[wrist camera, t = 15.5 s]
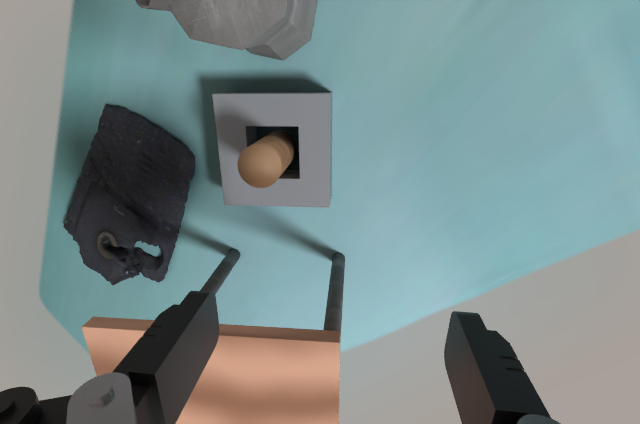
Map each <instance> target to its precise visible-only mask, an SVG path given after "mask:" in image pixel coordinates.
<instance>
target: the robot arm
mask: <svg viewBox="0 0 640 424" xmlns="http://www.w3.org/2000/svg"><path fill="white" fill-rule="evenodd" d="M218 338H219V321H218V313H217V305H216V297H215V294H214V293H213V292H201V291H191V292H189V293H188V295H187V296H186V297H185V299H184V300H183V301H182V302H181V304H180V305H175V304H174V305H172V306H171V307H169V308H168V309H166V310H165V311H164V312H162V313H161V314H160V315H159V316H158V317H157V318H156V319H155V321H154V322H153V323H152V324H151V327H149V328H148V329H147V330H146V332H145V333H144V334H143V337H141V338H140V339H139V340H138V341H137V342H136V344H135V345H134V346H133V347H132V349H131V350H130V351H129V352H128V353H127V355H126V356H125V357H124V358H123V359H122V361H121V362H120V363H119V364H118V366H117V367H116V368H115V369H114V370H113V372H112V373H106V374H102V375H99V376H97V377H95V378H93V379H91V380H89V381H87V382H86V383H84V384H83V385H82V386H80V388H79V389H77V390H76V391H75V392H74V394H73V395H70V396H64V397H59V398H53V399H48V400H42V401H39V400H38V398H37V395H36V393H35V392H34V390H33V389H31V388H28V387H16V388H11V389H7V390H5V391H2V392H0V424H176V422H177V420H178V418H179V416H180V414H181V412H182V410H183V408H184V406H185V405H186V403H187V401H188V399H189V397H190V395H191V393H192V391H193V389H194V387H195V385H196V383H197V382H198V380H199V378H200V376H201V374H202V372H203V370H204V368H205V366H206V364H207V362H208V361H209V359H210V357H211V355H212V353H213V351H214V349H215V347H216V345H217V342H218ZM444 354H445V355H444V358H445V366H446V370H447V374H448V377H449V381H450V384H451V387H452V391H453V394H454V398H455V401H456V405H457V408H458V411H459V415H460V418H461V421H462V424H560V423H559V422H557V421H555V420H553V419H551V417H550V415H549V413H548V412H547V410H546V408H545V406H544V405H543V403H542V401H541V399H540V397H539V395H538V394H537V392H536V390H535V389H534V386H533V385H532V383H531V381H530V379H529V377H528V376H527V374H526V372H524V368H523V367H522V365H521V363H520V361H519V360H518V359H517V356H516V354H515V352H514V351H513V349H512V347H511V345H510V343H509V342H508V341H506V340H505V339H504V338H503V337H502V336H501V335H500V334H499V333H498V332H497V331H490V330H487V329H486V327H485V325H484V323H483V321H482V319H481V317H480V315H479V314H477V313H469V312H455V311H454V312H452V314H451V319H450V323H449V329H448V334H447V339H446V344H445V351H444Z"/></svg>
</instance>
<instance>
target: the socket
mask: <svg viewBox="0 0 640 424" xmlns="http://www.w3.org/2000/svg"><path fill="white" fill-rule="evenodd" d="M212 97H213V106H214V115H215V124H216V133H217V142H218V151H219V160H220V169H221V178H222V187H223V196H224V205H253V206H292V207H329V206H330V201H331V196H332V92H254V93H217V94H212ZM256 126H298V128H299V164H300V170H285V171H284V172H283V173H282V174H281V176H280V177H279V178H278V180H277V181H276V182H275V183H274V184H273V185H271V186H269V187H266V188H256V187H253V186H250V185H249V184H247V183H246V182H245V181H244V180H243V179H242V178H241V176H240V174H239V171H238V167H237V163H238V158H239V156H240V154H241V152H242V151H243V150H244V149H246V148H247V147H249V146H250V145H252V144H253V143H255V142H257V134H256Z"/></svg>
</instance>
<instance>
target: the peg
mask: <svg viewBox="0 0 640 424" xmlns="http://www.w3.org/2000/svg"><path fill="white" fill-rule="evenodd" d="M297 151H298V145H297V141H296V139H295V138H294V136H293V135H292V134H291V133H289V132H287V131H285V130H276V131H273V132H271V133H270V134H268V135H266V136H265V137H263V138H262V139H260V140H258V141H257V142H255V143H253V144H252V145H250V146H249V147H247V148H246V149H244V150H243V151H242V152H241V154H240V156H239V158H238V163H237V167H238V171H239V174H240V176H241V178H242V179H243V180H244V181H245V182H246V183H247V184H249V185H250V186H253V187H256V188H266V187H269V186H271V185H273V184H274V183H275V182H276V181H277V180H278V178H279V177H280V176H281V174H282V173H283V172H284V171H285V169H286V168H287V167H288V165H289V164H290V163H291V162H292V160H293V159H294V158H295V156H296V154H297Z"/></svg>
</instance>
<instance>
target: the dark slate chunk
mask: <svg viewBox="0 0 640 424" xmlns="http://www.w3.org/2000/svg"><path fill="white" fill-rule="evenodd" d="M194 171H195V156H194V154H193V153H192V152H191V151H190V150H189V149H188V148H187V147H185V146H184V145H182V144H180V143H179V142H177V141H176V140H175V139H173V138H172V137H170V136H169V135H168V134H167V132H164V131H163V130H161V129H159V128H157V127H154V126H153V125H152V124H150V123H149V122H148V121H147V120H146V119H144V118H142V117H140V116H138V115H136V114H131V113H130V111H128V110H127V109H126V108H121V107H119V106H115V107H111V106H109V105H108V104H107V105H106V106H105V109H104V110H103V114H102V116H101V118H100V121H99V126H98V132H97V133H96V135H95V136H94V140H93V141H92V144H91V149H90V150H89V153H88V155H87V158H86V160H85V162H84V166H83V168H82V174H81V177H80V178H79V180H78V181H77V182H78V185H77V188H76V191H75V193H74V196H73V201H72V204H71V206H70V208H69V212H68V216H67V219H66V221H65V224H64V226H63V227H64V228H65V229H66V230H67V231H68V232H69V234H71V235H72V236H73V240H75V241H77V243H78V245H79V246H80V254H81V256H82V259H83V263H84V264H85V265H86V266H87V267H89V268H90V269H92V270H94V271H96V272H98V273H100V274H101V275H102V276H103V277H104V278H105V279H106V280H107V281H110V282H111V284H112V285H115V284H117V283H119V282H120V281H122V280H125V279H128V278H130V277H131V278H133V277H134V276H136V275H139V272H142V274H143V276H144V277H147V278H150V279H151V280H155V281H156V282H160V281H162V280H163V279H164V278H165V274H166V273H167V271H168V265H169V263H170V259H171V257H172V253H173V251H174V248H175V242H176V241H177V238H178V236H177V234H178V233H179V228H180V227H181V226H180V224H181V221H182V218H183V215H184V209H185V206H184V204H185V203H186V201H187V194H188V191H189V184H190V181H191V180H192V178H193V175H194ZM137 241H142V242H143V241H144V242H146V243H147V244H149V245H154V246H157V245H159V248H160V249H161V251H162V253H163V255H162V256H160V257H154V256H152V255H150V254H148V253H146V252H144V251H143V250H142V249H141V248H139V247H134V246H135V243H136V242H137ZM144 242H143V243H144ZM138 270H139V271H138Z"/></svg>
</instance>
